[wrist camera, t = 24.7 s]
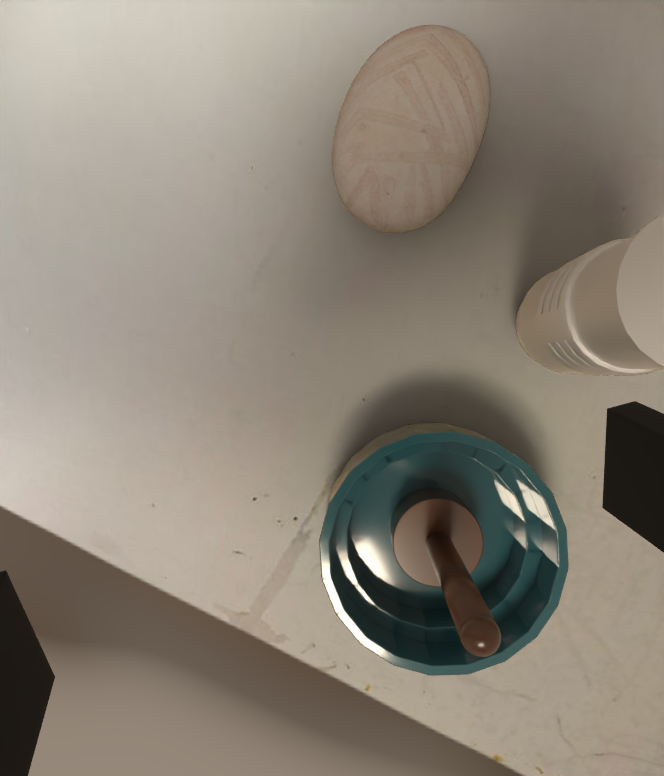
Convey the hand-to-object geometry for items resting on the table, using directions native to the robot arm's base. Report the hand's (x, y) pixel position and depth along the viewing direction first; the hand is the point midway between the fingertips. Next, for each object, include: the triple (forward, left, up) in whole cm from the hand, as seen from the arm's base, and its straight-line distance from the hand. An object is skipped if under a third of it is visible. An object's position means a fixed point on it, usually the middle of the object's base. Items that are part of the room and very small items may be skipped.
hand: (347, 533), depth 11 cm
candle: (+12, +10, -25) cm, 30 cm away
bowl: (+7, -6, -25) cm, 27 cm away
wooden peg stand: (+7, -6, -25) cm, 26 cm away
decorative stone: (-1, +19, -25) cm, 32 cm away
